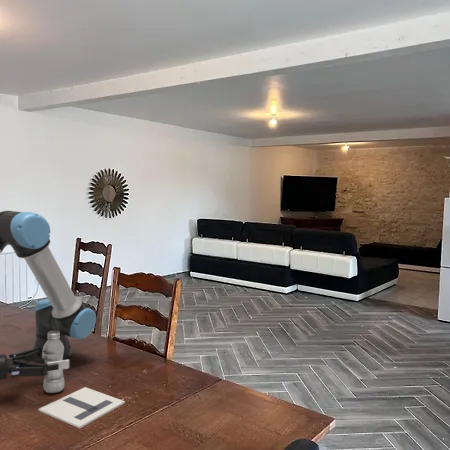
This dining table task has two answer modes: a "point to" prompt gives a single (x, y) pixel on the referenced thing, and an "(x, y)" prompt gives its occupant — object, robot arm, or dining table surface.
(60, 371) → the plastic bottle
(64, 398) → the letter board
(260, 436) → the dining table surface
